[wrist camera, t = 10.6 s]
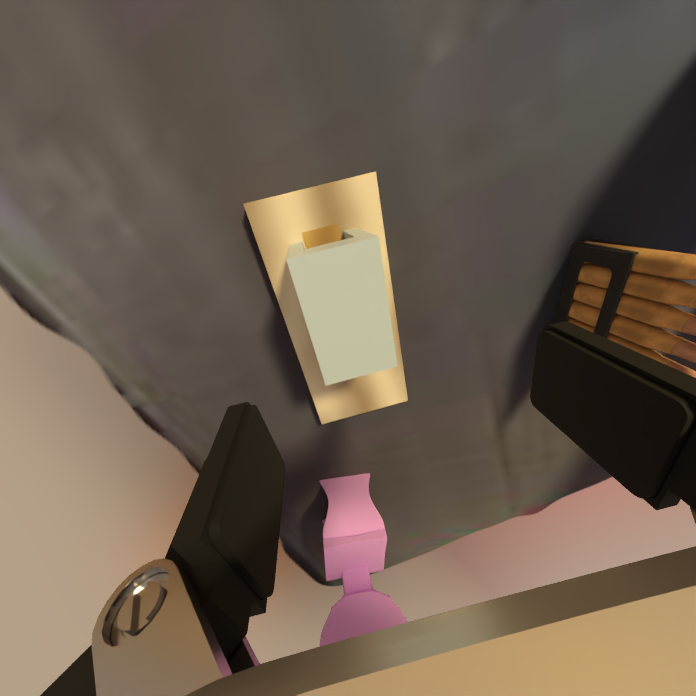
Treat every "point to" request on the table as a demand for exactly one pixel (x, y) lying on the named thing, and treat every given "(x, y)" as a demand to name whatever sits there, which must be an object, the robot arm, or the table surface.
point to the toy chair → (355, 560)
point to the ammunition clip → (632, 297)
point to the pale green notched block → (345, 305)
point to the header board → (274, 241)
